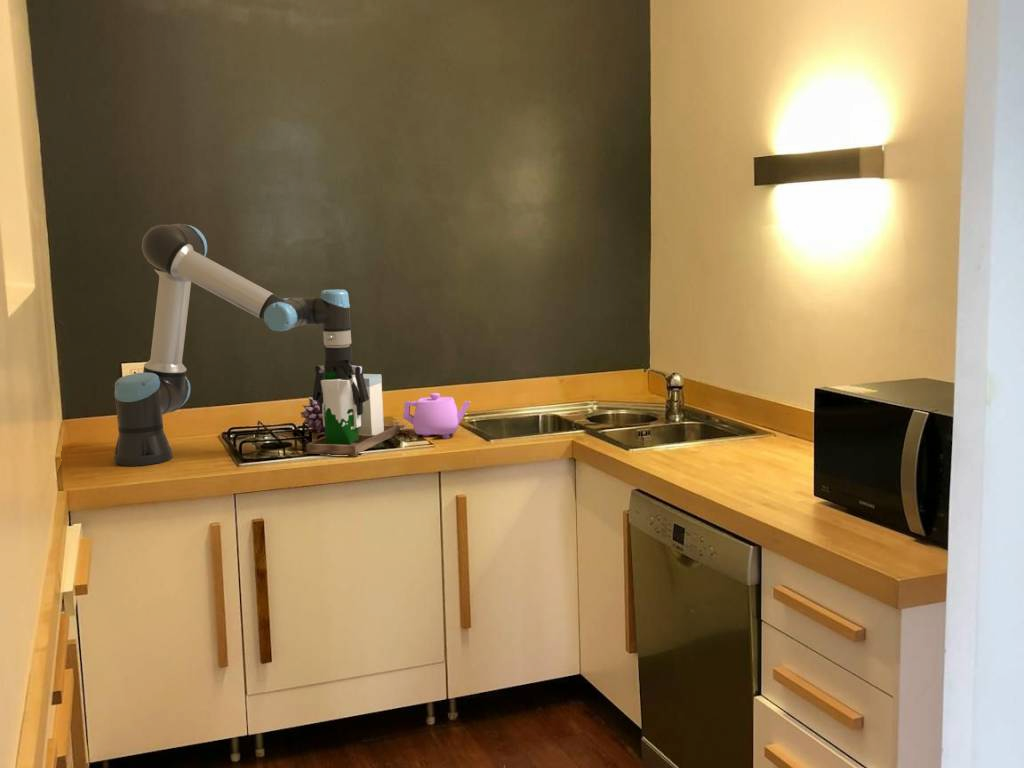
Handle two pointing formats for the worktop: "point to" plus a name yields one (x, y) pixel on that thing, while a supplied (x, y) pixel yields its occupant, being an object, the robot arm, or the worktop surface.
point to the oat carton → (372, 406)
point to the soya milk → (338, 409)
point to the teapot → (435, 415)
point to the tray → (354, 448)
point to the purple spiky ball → (313, 416)
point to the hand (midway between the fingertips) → (342, 426)
